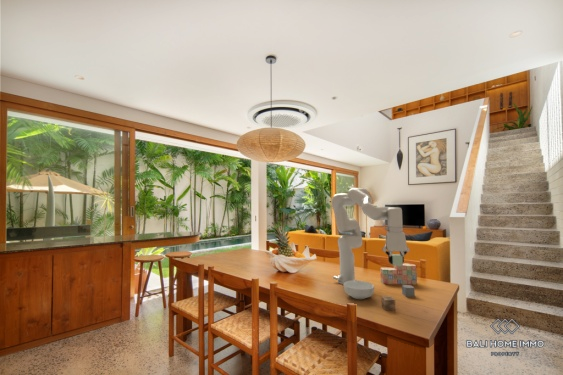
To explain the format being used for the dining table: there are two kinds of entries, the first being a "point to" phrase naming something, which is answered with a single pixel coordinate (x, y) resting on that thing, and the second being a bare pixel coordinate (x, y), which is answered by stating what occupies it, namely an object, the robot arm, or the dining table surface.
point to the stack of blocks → (399, 274)
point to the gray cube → (408, 290)
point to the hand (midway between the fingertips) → (396, 263)
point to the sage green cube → (397, 260)
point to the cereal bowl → (358, 289)
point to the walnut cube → (388, 303)
